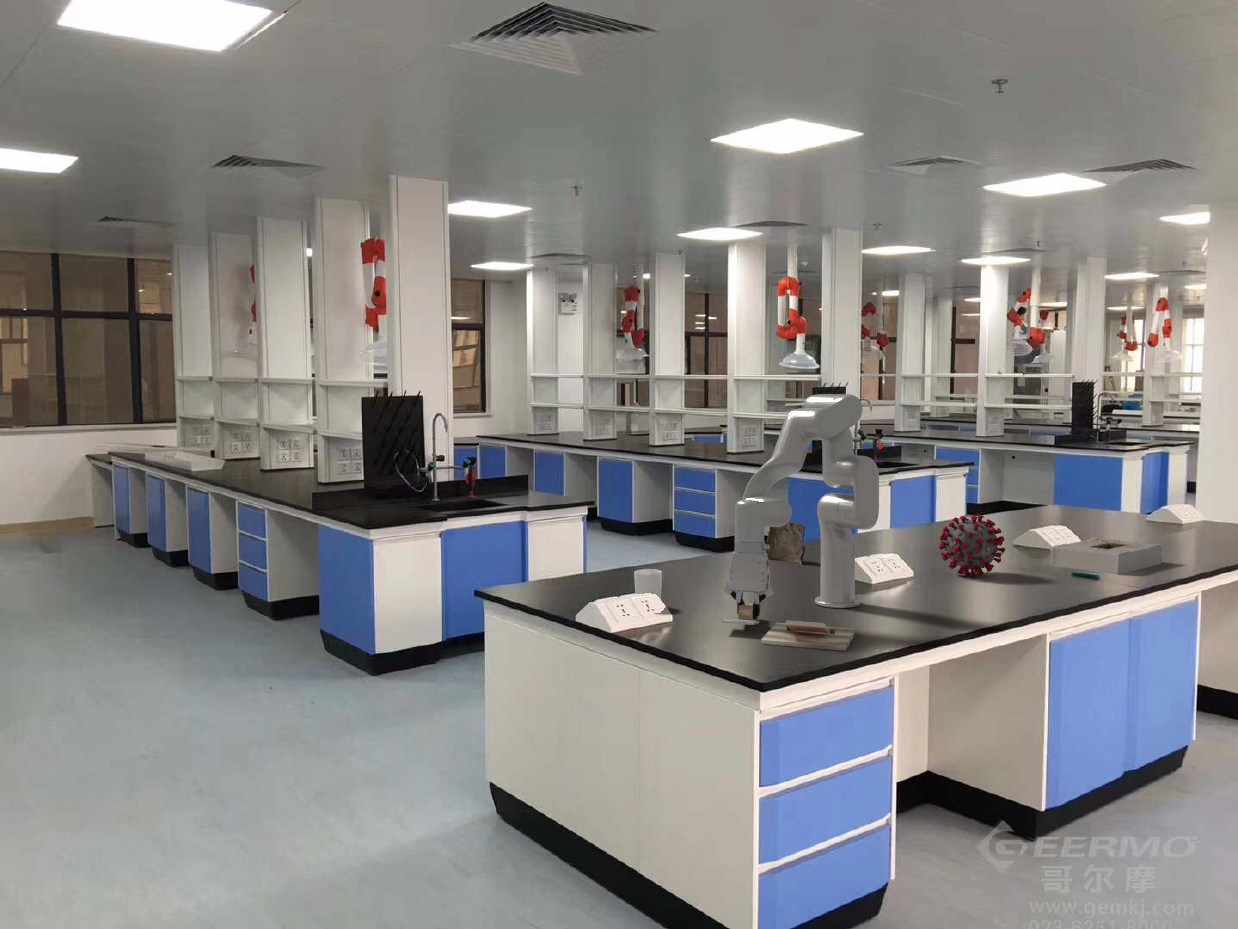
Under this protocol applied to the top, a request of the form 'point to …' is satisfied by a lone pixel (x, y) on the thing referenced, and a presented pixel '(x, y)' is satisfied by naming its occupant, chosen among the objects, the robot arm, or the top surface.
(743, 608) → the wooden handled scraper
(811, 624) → the tile
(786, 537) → the mineral sample
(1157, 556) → the box
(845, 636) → the board
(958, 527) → the virus model
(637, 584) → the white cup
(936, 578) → the top surface
